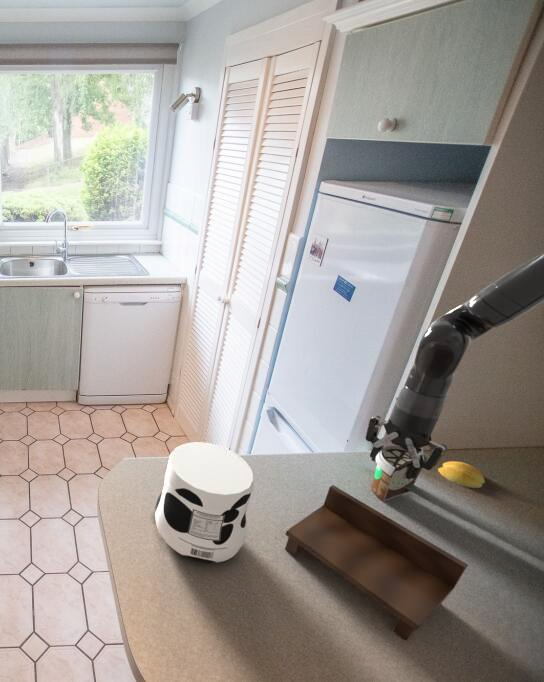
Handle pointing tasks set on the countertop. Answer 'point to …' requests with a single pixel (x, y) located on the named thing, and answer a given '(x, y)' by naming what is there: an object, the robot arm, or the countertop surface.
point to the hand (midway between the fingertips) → (391, 468)
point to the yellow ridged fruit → (462, 474)
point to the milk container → (204, 502)
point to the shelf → (378, 558)
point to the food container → (392, 473)
